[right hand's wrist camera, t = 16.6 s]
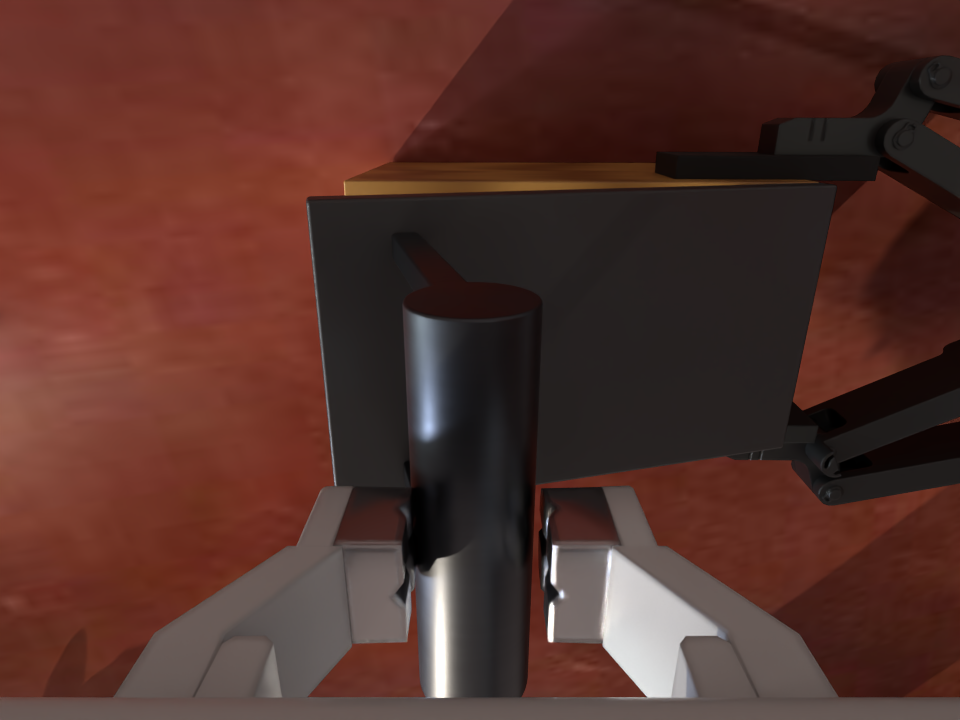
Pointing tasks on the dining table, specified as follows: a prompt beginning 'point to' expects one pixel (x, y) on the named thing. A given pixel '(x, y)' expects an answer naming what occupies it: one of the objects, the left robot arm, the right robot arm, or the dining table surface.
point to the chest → (519, 177)
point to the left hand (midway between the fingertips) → (651, 300)
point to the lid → (547, 366)
